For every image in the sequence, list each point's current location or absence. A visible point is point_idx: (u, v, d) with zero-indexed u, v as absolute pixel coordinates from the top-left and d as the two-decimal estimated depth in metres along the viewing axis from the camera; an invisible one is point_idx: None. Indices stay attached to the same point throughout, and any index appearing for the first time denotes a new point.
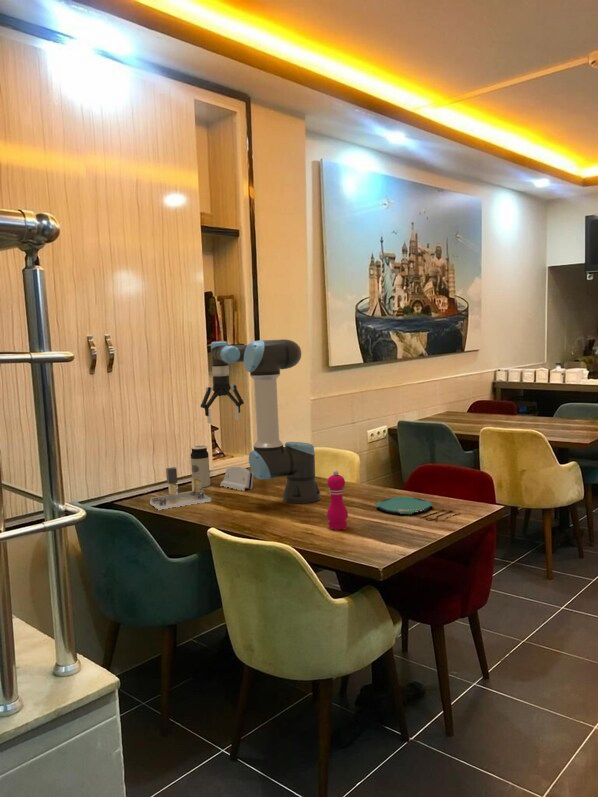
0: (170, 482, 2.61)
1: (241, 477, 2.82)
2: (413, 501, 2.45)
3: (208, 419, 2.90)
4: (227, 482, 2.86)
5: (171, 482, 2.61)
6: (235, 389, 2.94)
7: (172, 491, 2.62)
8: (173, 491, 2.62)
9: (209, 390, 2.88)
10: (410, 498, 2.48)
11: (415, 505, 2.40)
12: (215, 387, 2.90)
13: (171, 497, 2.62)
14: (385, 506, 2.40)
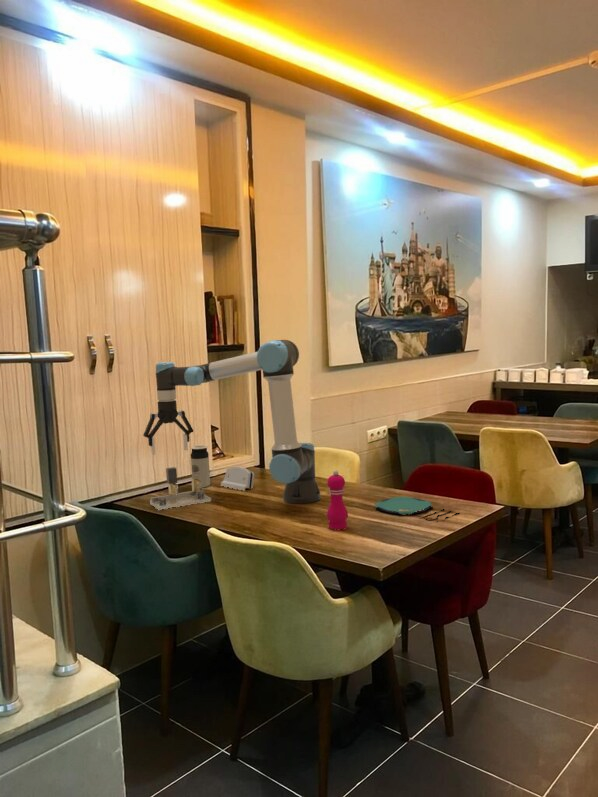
0: (170, 482, 2.61)
1: (241, 477, 2.82)
2: (412, 501, 2.45)
3: (152, 449, 2.58)
4: (227, 482, 2.86)
5: (171, 482, 2.61)
6: (183, 416, 2.62)
7: (172, 491, 2.62)
8: (173, 491, 2.62)
9: (153, 417, 2.56)
10: (409, 498, 2.48)
11: (415, 505, 2.40)
12: (160, 414, 2.58)
13: (171, 497, 2.62)
14: (385, 506, 2.40)
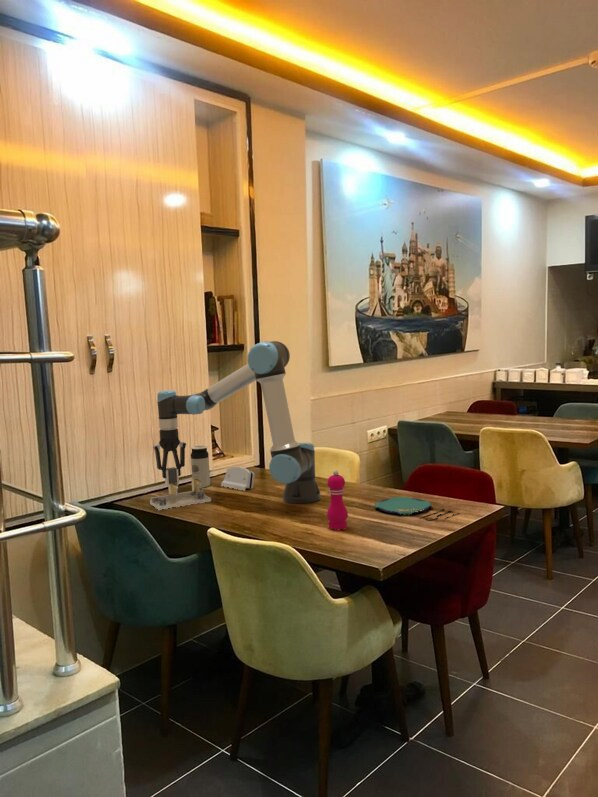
0: (170, 482, 2.61)
1: (242, 477, 2.82)
2: (412, 501, 2.45)
3: (166, 481, 2.62)
4: (228, 482, 2.86)
5: (171, 482, 2.61)
6: (183, 447, 2.63)
7: (172, 491, 2.62)
8: (173, 491, 2.62)
9: (157, 449, 2.58)
10: (409, 498, 2.48)
11: (414, 505, 2.40)
12: (161, 443, 2.59)
13: (171, 497, 2.62)
14: (384, 506, 2.40)
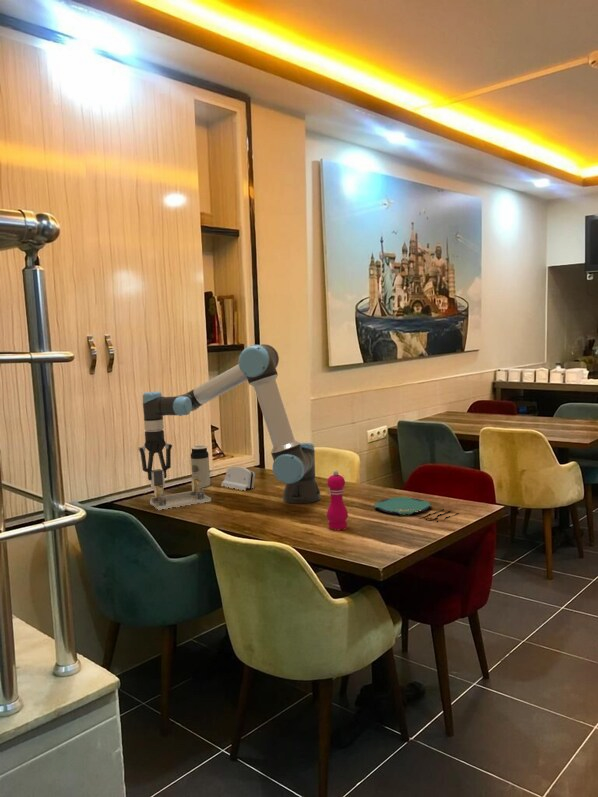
0: (156, 484, 2.58)
1: (242, 477, 2.82)
2: (411, 501, 2.45)
3: (151, 484, 2.59)
4: (228, 482, 2.86)
5: (157, 484, 2.59)
6: (169, 449, 2.60)
7: (158, 493, 2.59)
8: (159, 493, 2.59)
9: (142, 451, 2.55)
10: (408, 498, 2.47)
11: (414, 505, 2.40)
12: (147, 444, 2.56)
13: (171, 497, 2.62)
14: (384, 506, 2.39)
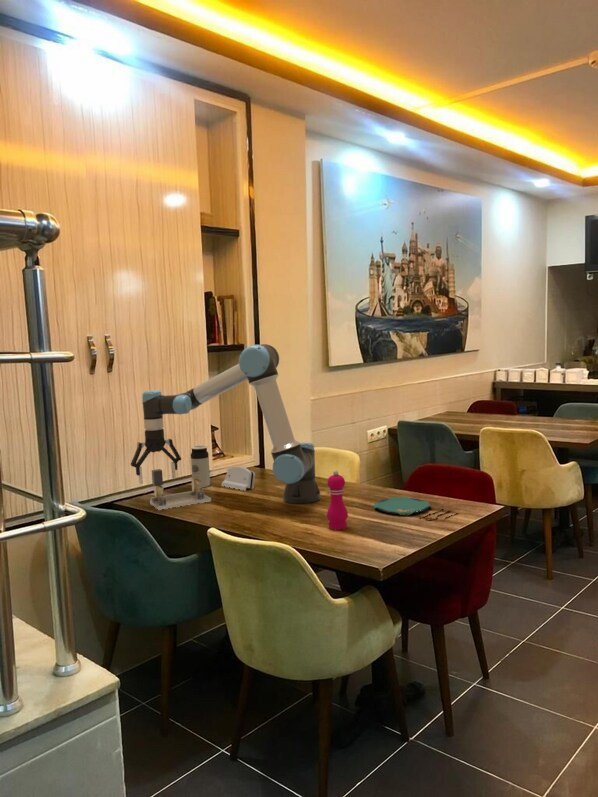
0: (156, 484, 2.58)
1: (242, 477, 2.82)
2: (411, 501, 2.45)
3: (139, 479, 2.56)
4: (228, 482, 2.86)
5: (157, 484, 2.59)
6: (171, 444, 2.61)
7: (158, 493, 2.59)
8: (159, 493, 2.59)
9: (140, 446, 2.55)
10: (407, 498, 2.47)
11: (413, 505, 2.40)
12: (147, 443, 2.56)
13: (171, 497, 2.62)
14: (383, 507, 2.39)
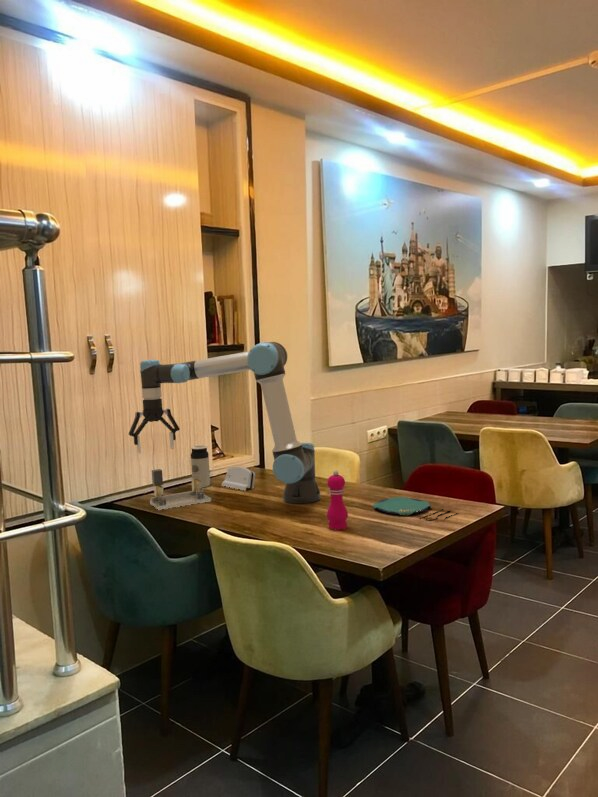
0: (156, 484, 2.58)
1: (242, 477, 2.82)
2: (410, 501, 2.45)
3: (137, 448, 2.55)
4: (228, 482, 2.86)
5: (157, 484, 2.59)
6: (169, 414, 2.59)
7: (158, 493, 2.59)
8: (159, 493, 2.59)
9: (138, 415, 2.53)
10: (407, 498, 2.47)
11: (413, 505, 2.40)
12: (145, 412, 2.55)
13: (171, 497, 2.62)
14: (383, 507, 2.39)
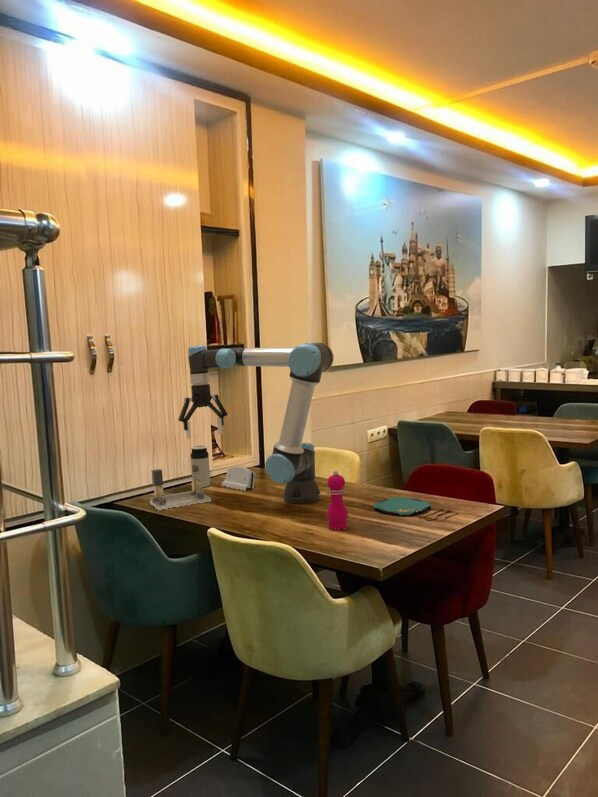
0: (156, 484, 2.58)
1: (242, 477, 2.82)
2: (410, 501, 2.45)
3: (187, 434, 2.57)
4: (228, 482, 2.86)
5: (157, 484, 2.59)
6: (217, 399, 2.61)
7: (158, 493, 2.59)
8: (159, 493, 2.59)
9: (187, 401, 2.55)
10: (407, 498, 2.47)
11: (413, 505, 2.40)
12: (194, 397, 2.56)
13: (171, 497, 2.62)
14: (383, 507, 2.39)
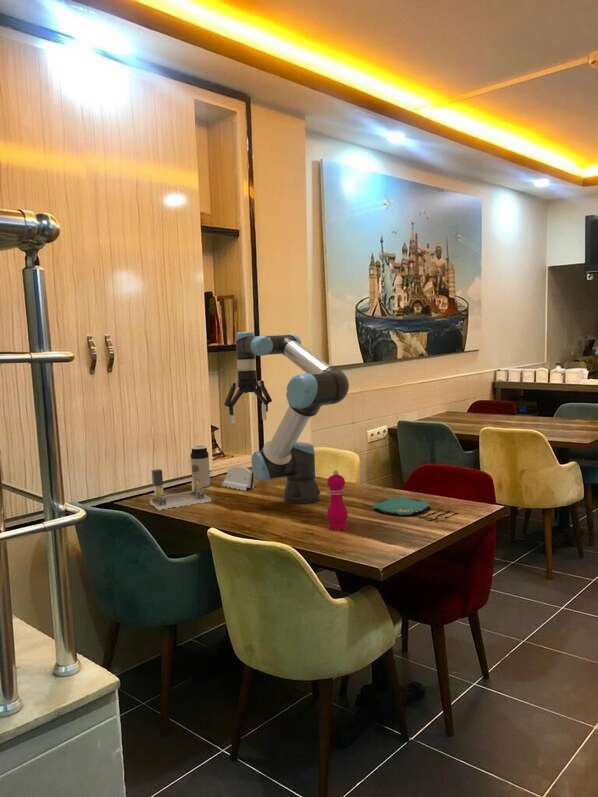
0: (156, 484, 2.58)
1: (243, 477, 2.82)
2: (409, 501, 2.45)
3: (233, 419, 2.59)
4: (229, 482, 2.86)
5: (157, 484, 2.59)
6: (262, 385, 2.63)
7: (158, 493, 2.59)
8: (159, 493, 2.59)
9: (234, 386, 2.57)
10: (406, 499, 2.47)
11: (412, 505, 2.40)
12: (240, 383, 2.59)
13: (171, 497, 2.62)
14: (382, 507, 2.39)
